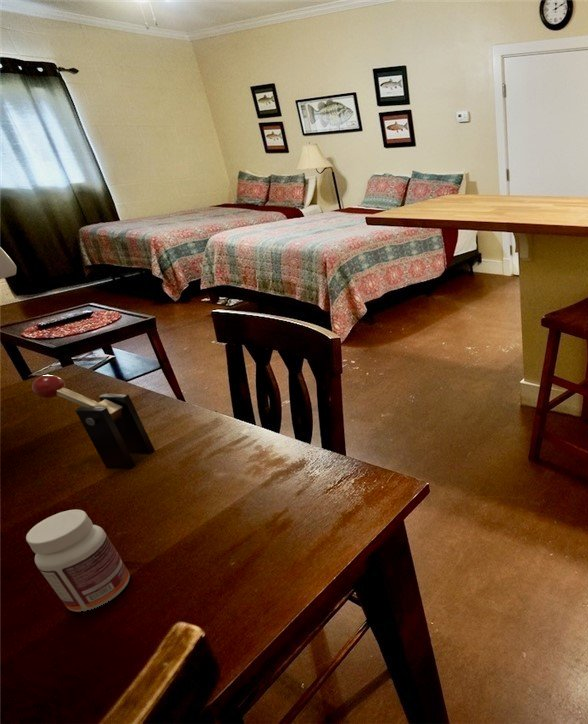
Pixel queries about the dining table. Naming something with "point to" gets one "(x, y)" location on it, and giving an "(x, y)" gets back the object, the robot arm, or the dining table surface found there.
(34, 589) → the dining table surface
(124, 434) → the bracket
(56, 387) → the lever
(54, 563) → the pill bottle
